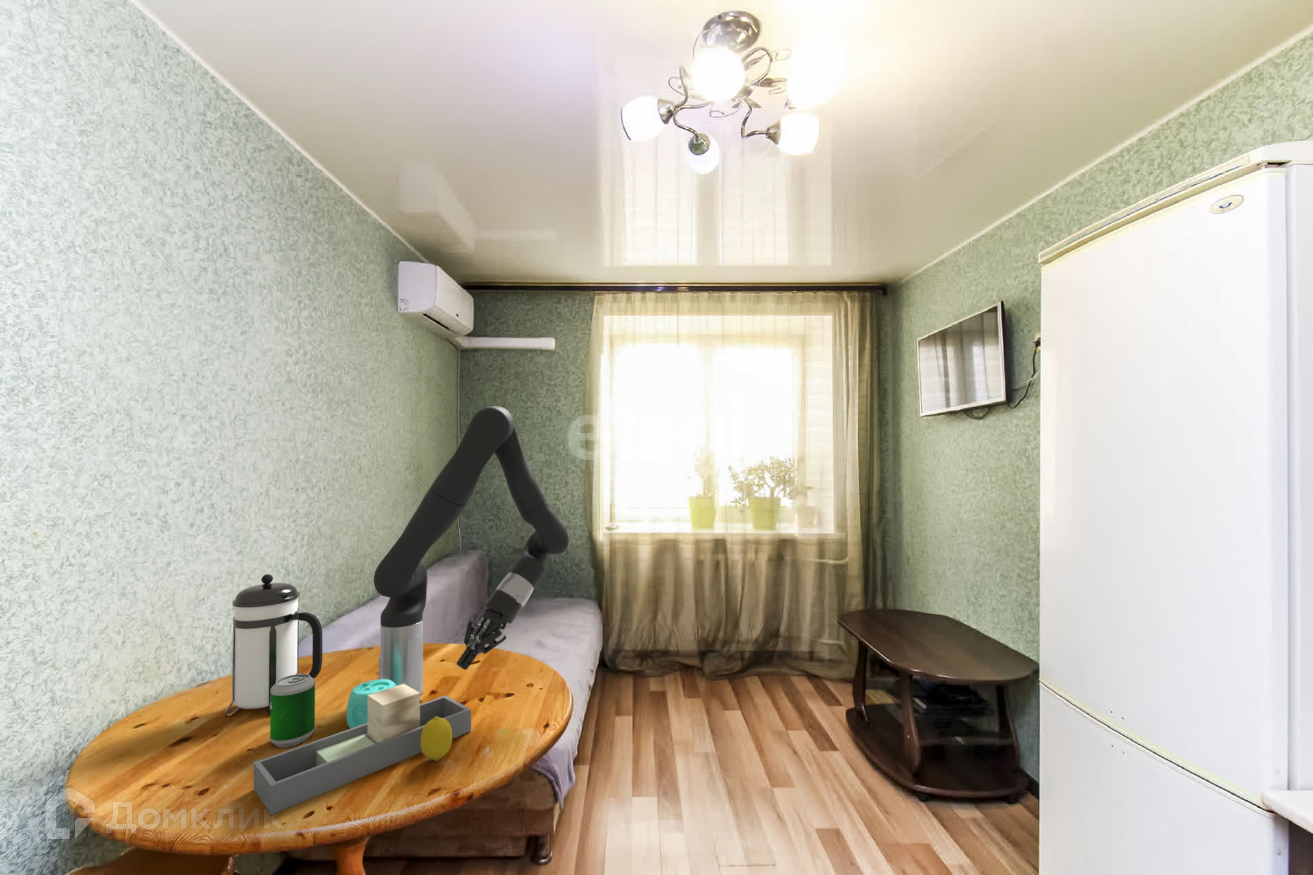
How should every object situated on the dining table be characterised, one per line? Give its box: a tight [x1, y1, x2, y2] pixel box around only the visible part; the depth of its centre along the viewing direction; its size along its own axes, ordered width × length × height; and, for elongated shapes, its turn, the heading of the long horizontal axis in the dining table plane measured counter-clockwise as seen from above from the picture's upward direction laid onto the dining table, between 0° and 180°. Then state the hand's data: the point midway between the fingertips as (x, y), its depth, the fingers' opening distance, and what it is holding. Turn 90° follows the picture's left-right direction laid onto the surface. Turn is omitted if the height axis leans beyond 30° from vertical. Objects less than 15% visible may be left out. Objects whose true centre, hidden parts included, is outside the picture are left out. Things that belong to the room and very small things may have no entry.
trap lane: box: [252, 695, 472, 816], centre depth 104 cm, size 35×11×4 cm, turn 138°
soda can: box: [269, 673, 316, 748], centre depth 112 cm, size 8×8×12 cm
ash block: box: [367, 684, 421, 743], centre depth 107 cm, size 7×7×8 cm
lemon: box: [420, 716, 453, 762], centre depth 103 cm, size 6×6×8 cm
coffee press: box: [224, 573, 323, 717], centre depth 128 cm, size 17×16×30 cm
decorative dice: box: [346, 678, 397, 729], centre depth 118 cm, size 8×8×8 cm
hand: (460, 667), depth 118 cm, fingers closed
